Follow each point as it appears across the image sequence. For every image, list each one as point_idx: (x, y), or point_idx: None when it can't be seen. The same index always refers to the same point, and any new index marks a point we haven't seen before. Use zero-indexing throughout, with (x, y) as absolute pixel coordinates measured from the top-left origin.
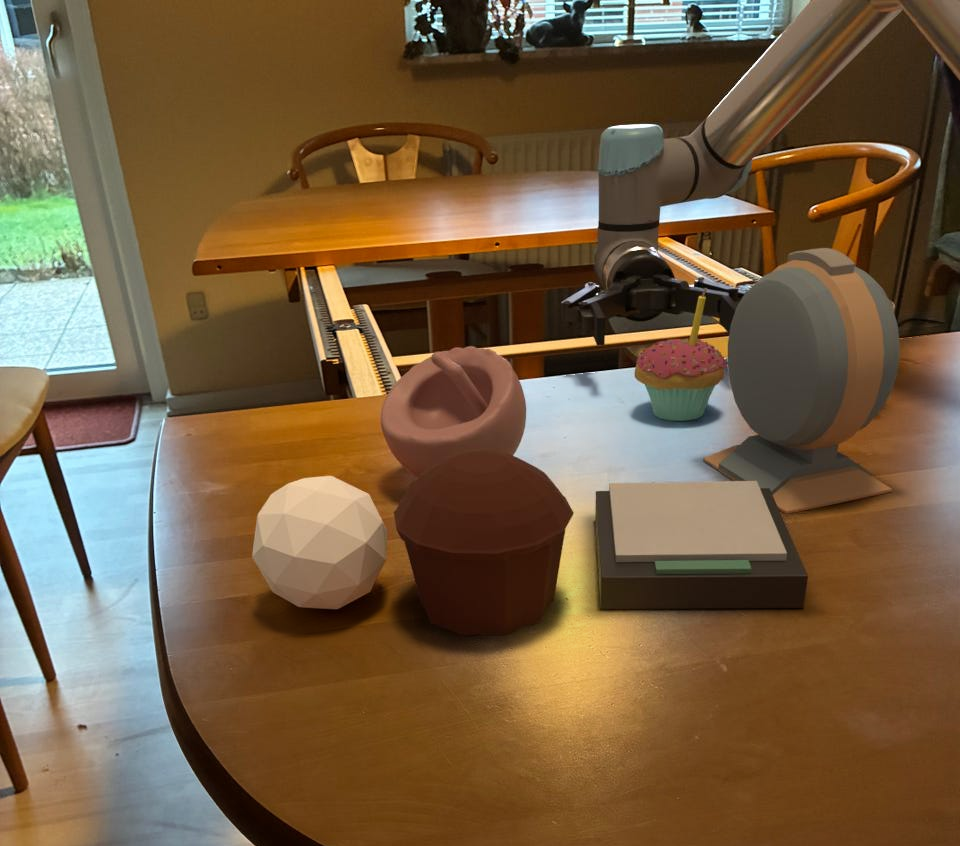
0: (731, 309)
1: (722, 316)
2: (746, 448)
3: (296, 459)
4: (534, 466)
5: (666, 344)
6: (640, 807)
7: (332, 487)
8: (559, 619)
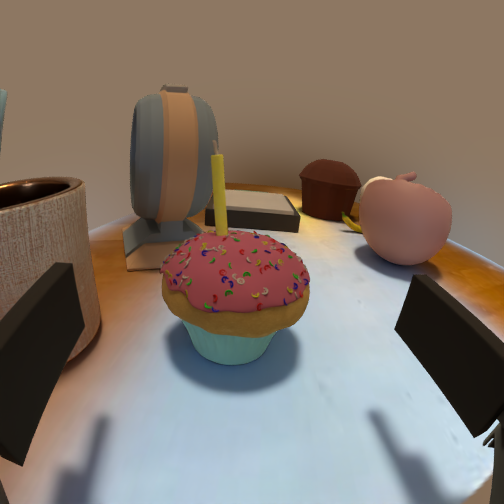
0: (54, 292)
1: (23, 409)
2: (197, 232)
3: (496, 285)
4: (316, 163)
5: (264, 240)
6: (268, 189)
7: (378, 177)
8: (297, 208)
